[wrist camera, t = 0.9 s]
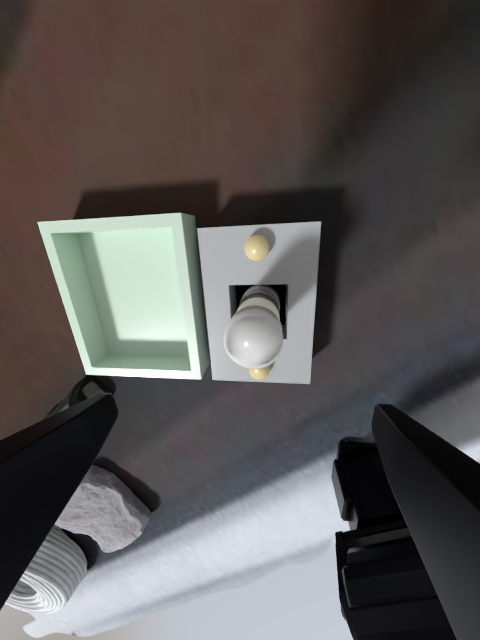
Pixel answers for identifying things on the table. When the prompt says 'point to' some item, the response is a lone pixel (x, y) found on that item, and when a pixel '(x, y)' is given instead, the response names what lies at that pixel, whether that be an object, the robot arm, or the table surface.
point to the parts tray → (132, 293)
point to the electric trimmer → (81, 393)
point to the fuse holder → (262, 269)
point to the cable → (50, 575)
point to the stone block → (105, 511)
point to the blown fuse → (255, 328)
